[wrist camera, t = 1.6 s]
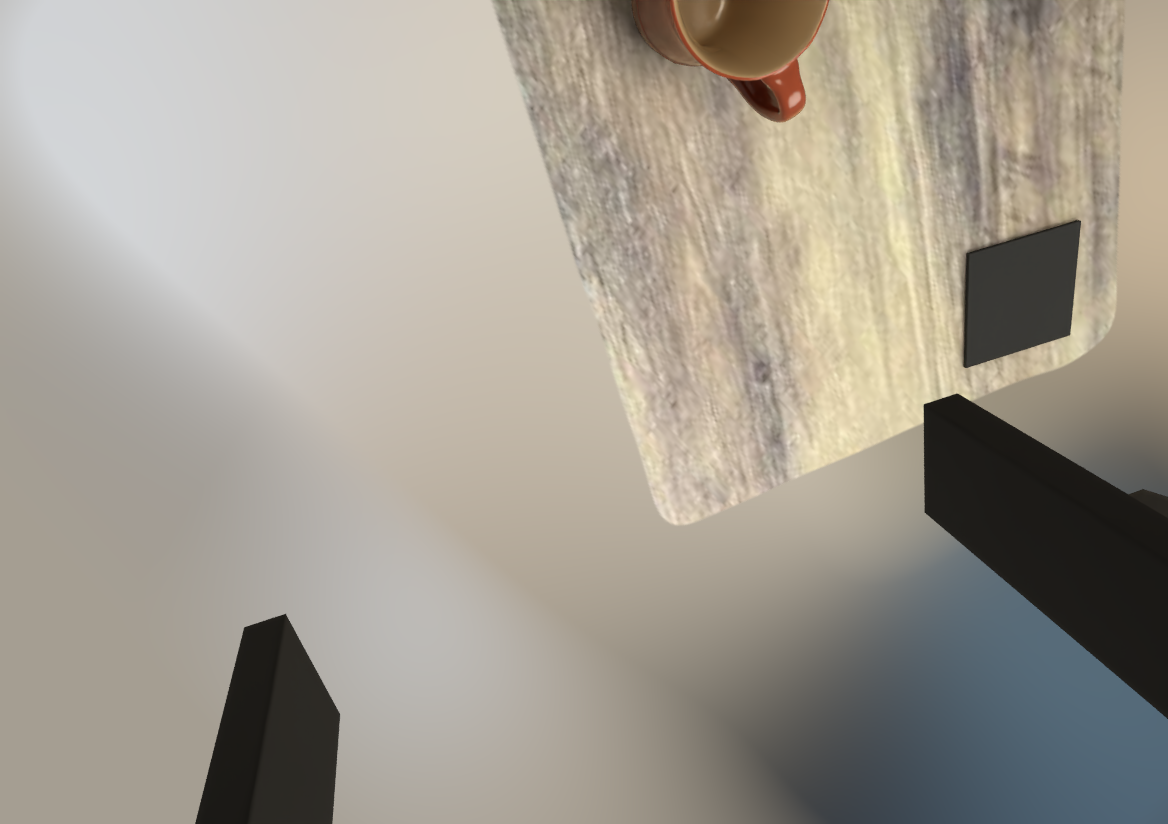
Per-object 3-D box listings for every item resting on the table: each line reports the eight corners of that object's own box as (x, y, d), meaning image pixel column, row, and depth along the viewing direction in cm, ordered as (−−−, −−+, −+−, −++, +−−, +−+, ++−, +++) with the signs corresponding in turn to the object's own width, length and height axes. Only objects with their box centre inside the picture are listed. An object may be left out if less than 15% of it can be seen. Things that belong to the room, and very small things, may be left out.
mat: (966, 253, 59) (969, 254, 59) (1078, 220, 60) (1081, 220, 60) (963, 367, 64) (966, 368, 63) (1067, 334, 65) (1070, 335, 65)
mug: (587, -30, 45) (638, -52, 36) (710, -118, 44) (793, -163, 35) (679, 148, 50) (743, 168, 41) (789, 71, 50) (878, 74, 41)
